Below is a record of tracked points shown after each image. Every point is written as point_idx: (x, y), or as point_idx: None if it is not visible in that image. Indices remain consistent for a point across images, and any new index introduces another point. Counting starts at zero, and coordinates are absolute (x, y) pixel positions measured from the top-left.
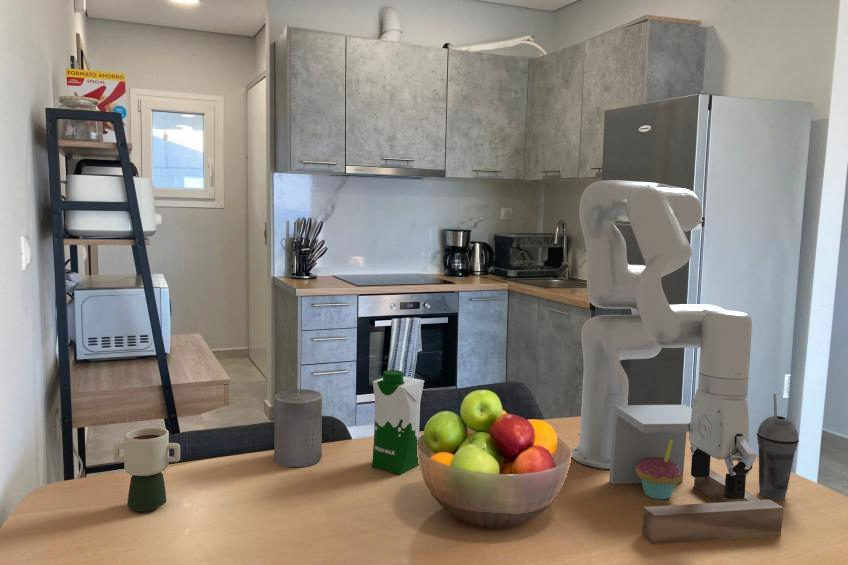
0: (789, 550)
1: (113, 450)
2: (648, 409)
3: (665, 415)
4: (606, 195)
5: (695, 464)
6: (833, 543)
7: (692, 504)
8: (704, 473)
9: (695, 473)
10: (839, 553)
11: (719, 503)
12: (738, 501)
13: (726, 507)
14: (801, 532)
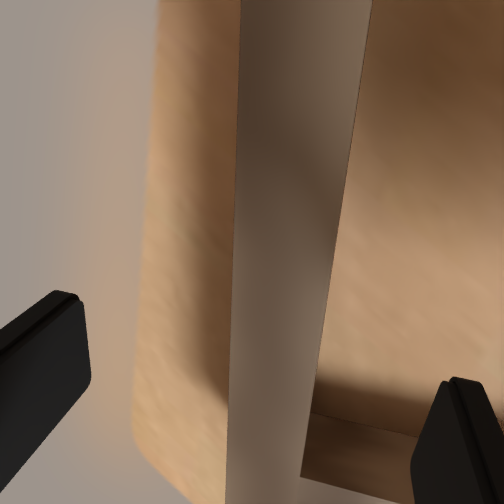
0: (169, 379)
1: None
2: None
3: None
4: None
5: (465, 469)
6: (189, 488)
7: (333, 225)
8: (424, 458)
9: (446, 406)
10: (146, 458)
11: (309, 357)
12: (305, 437)
13: (262, 351)
14: None
